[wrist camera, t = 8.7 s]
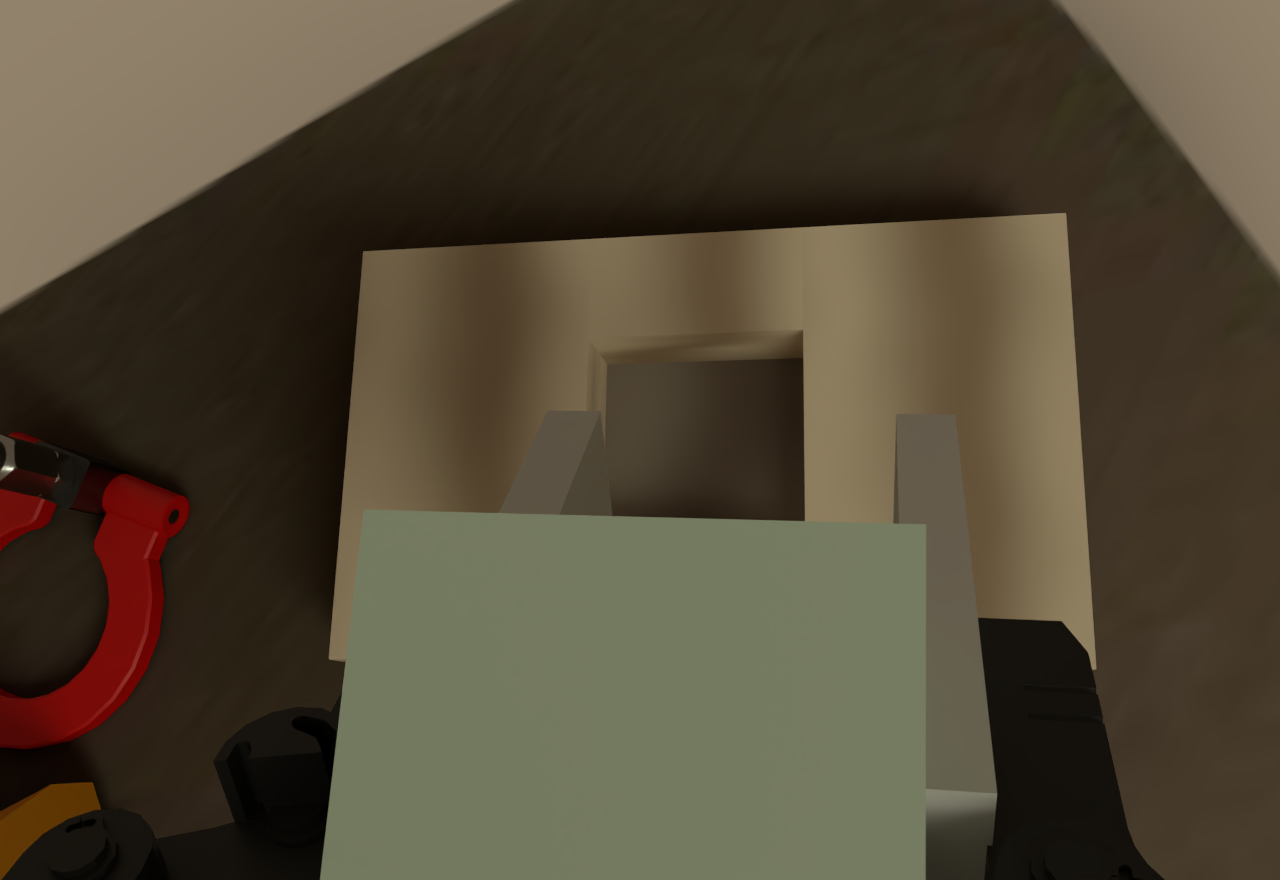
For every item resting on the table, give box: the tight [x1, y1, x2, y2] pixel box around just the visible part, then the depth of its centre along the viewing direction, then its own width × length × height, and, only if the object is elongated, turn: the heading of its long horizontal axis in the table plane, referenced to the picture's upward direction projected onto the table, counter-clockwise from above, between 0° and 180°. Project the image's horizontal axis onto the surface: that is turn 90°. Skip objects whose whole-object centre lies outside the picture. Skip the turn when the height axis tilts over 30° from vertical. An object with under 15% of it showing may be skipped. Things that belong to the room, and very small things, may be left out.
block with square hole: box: [329, 213, 1096, 670], centre depth 34 cm, size 20×12×3 cm, turn 89°
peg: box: [320, 510, 926, 880], centre depth 14 cm, size 4×4×12 cm
